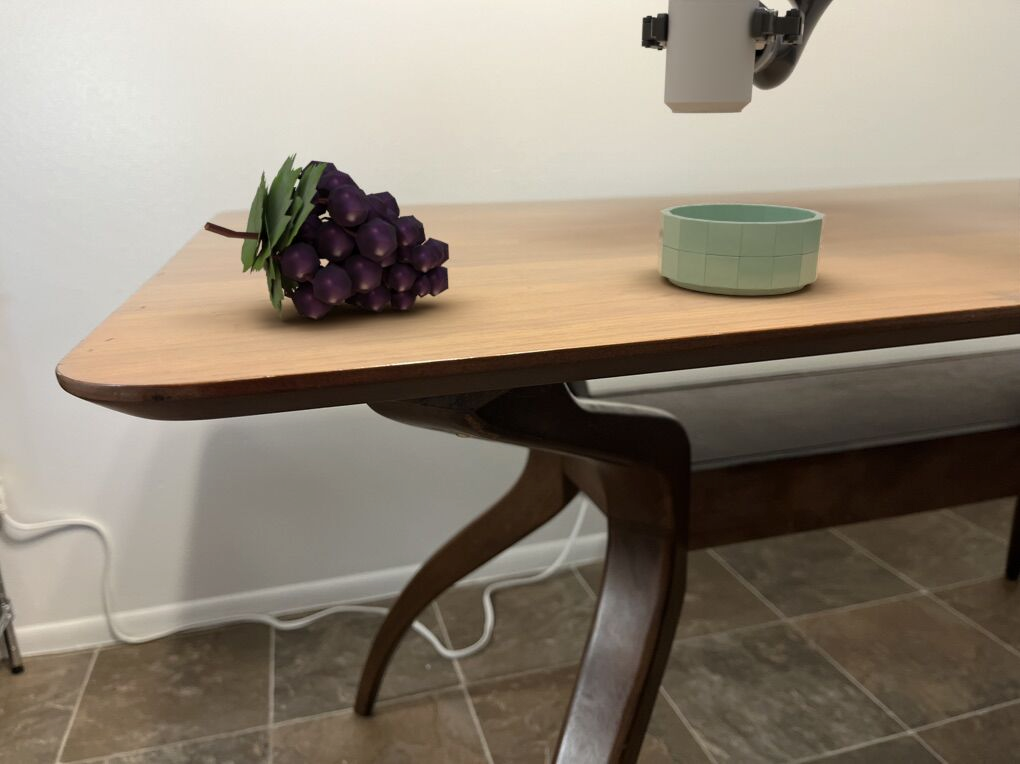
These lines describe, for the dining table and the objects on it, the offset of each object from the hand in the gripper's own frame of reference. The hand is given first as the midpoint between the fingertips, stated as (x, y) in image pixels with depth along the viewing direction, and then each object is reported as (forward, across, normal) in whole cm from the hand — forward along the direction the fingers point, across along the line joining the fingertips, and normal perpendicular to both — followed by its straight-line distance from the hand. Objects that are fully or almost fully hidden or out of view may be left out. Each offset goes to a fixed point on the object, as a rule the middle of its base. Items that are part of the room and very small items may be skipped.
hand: (708, 24), depth 68 cm
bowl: (+14, +6, +18) cm, 24 cm away
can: (-2, 0, +7) cm, 7 cm away
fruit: (+32, -16, +18) cm, 41 cm away
